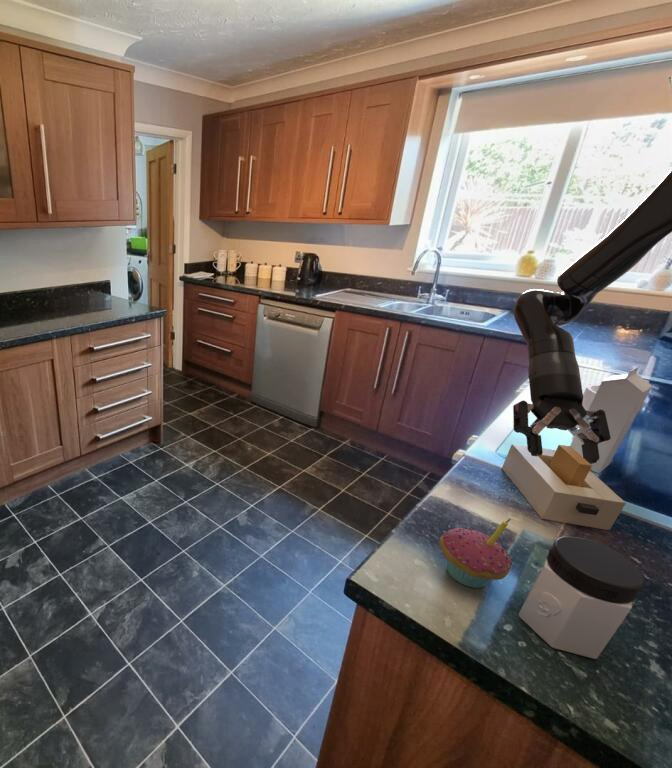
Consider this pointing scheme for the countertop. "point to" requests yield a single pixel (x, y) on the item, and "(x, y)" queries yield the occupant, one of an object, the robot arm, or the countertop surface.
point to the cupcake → (475, 556)
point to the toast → (569, 466)
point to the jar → (581, 595)
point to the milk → (616, 412)
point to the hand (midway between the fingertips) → (563, 459)
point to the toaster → (561, 491)
